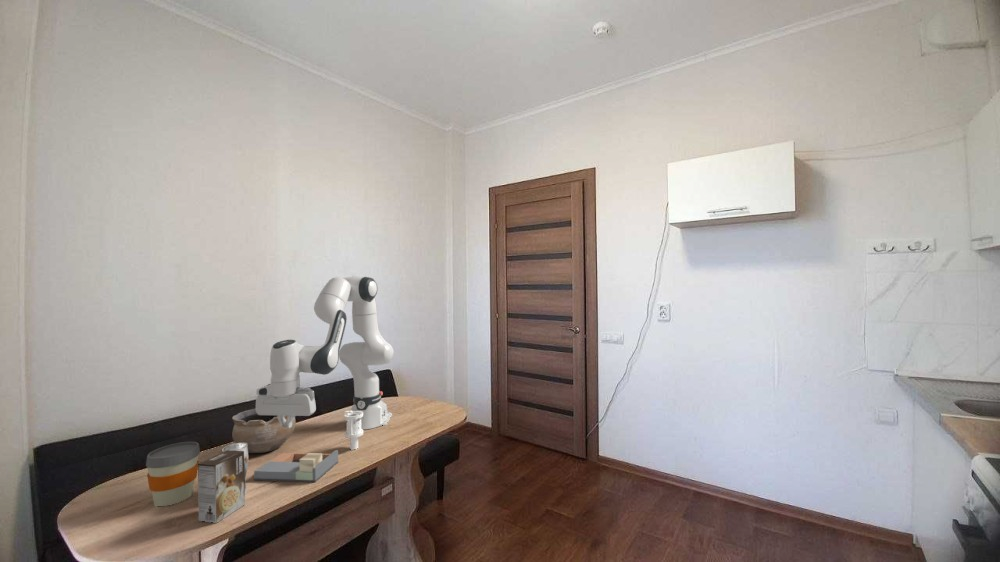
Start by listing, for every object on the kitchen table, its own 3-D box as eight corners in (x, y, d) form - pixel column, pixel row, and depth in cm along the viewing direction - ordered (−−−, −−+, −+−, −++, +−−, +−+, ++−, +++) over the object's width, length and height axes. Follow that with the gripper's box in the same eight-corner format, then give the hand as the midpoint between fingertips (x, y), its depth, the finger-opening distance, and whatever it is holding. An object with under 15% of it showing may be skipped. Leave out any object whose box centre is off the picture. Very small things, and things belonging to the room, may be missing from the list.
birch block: (308, 464, 128) (308, 453, 128) (322, 464, 128) (322, 453, 128) (299, 471, 123) (299, 459, 123) (313, 472, 123) (313, 460, 123)
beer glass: (224, 492, 117) (224, 444, 117) (250, 487, 120) (250, 440, 120) (218, 503, 111) (218, 453, 111) (245, 498, 113) (245, 448, 114)
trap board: (282, 460, 138) (282, 448, 138) (338, 462, 136) (338, 450, 136) (254, 480, 124) (254, 466, 124) (315, 482, 122) (315, 468, 122)
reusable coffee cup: (172, 487, 120) (172, 441, 121) (210, 487, 120) (210, 441, 120) (133, 510, 108) (133, 458, 108) (174, 510, 107) (175, 458, 108)
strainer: (349, 444, 151) (349, 408, 152) (366, 444, 151) (365, 408, 152) (341, 452, 144) (341, 413, 145) (359, 452, 144) (358, 413, 145)
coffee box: (227, 502, 111) (227, 449, 111) (245, 504, 110) (245, 450, 110) (197, 521, 102) (197, 463, 102) (216, 524, 101) (216, 465, 101)
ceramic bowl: (224, 465, 135) (224, 424, 135) (238, 443, 155) (238, 407, 155) (293, 453, 144) (293, 415, 145) (298, 434, 164) (298, 400, 164)
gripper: (319, 385, 130) (320, 424, 130) (265, 384, 132) (266, 423, 132) (308, 390, 123) (309, 431, 123) (251, 390, 125) (252, 430, 126)
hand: (286, 427), depth 128 cm, fingers closed
